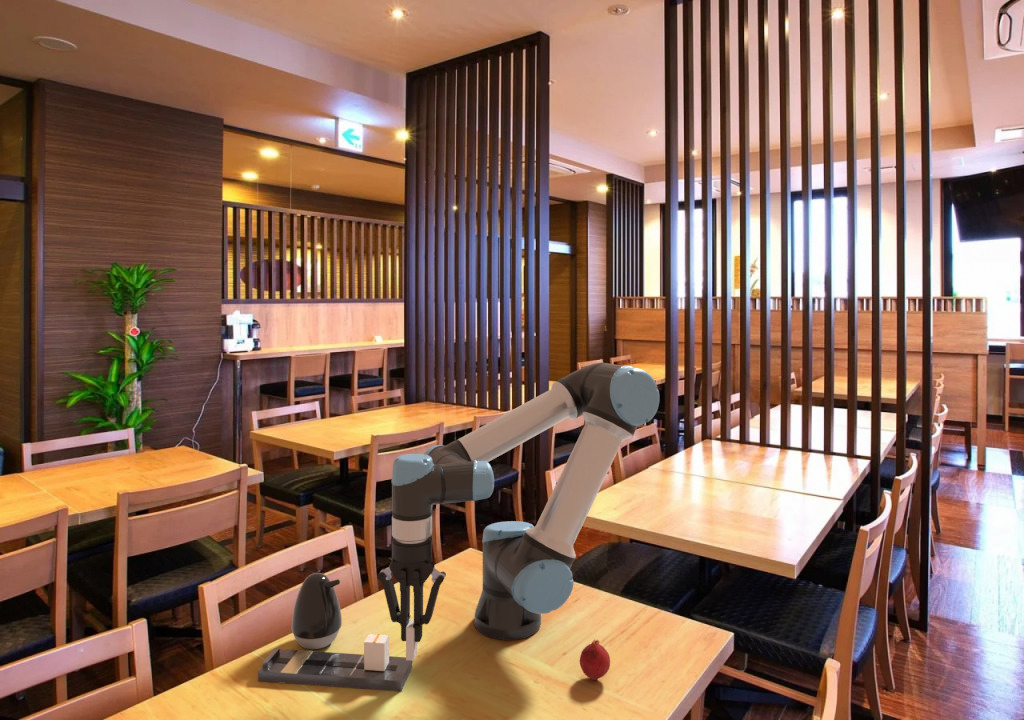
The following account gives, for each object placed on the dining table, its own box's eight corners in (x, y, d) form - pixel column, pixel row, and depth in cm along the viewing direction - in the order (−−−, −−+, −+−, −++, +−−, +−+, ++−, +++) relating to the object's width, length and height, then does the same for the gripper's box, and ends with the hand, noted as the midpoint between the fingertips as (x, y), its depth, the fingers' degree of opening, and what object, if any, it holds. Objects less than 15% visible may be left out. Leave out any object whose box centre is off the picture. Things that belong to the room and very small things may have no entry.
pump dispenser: (328, 658, 130) (327, 586, 128) (282, 652, 132) (281, 581, 130) (351, 633, 140) (350, 566, 138) (307, 628, 142) (306, 562, 140)
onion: (601, 692, 119) (603, 651, 119) (574, 682, 122) (575, 642, 122) (614, 677, 124) (615, 637, 124) (587, 668, 127) (588, 629, 127)
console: (412, 667, 127) (412, 653, 127) (401, 691, 119) (401, 675, 119) (277, 658, 129) (277, 644, 129) (258, 681, 122) (257, 666, 121)
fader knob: (389, 662, 125) (388, 634, 124) (384, 671, 122) (384, 642, 121) (369, 661, 125) (369, 633, 124) (364, 669, 122) (363, 641, 121)
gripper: (449, 531, 124) (448, 648, 125) (384, 528, 125) (384, 644, 127) (441, 545, 116) (440, 669, 118) (372, 542, 117) (372, 665, 119)
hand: (411, 656), depth 122 cm, fingers closed
